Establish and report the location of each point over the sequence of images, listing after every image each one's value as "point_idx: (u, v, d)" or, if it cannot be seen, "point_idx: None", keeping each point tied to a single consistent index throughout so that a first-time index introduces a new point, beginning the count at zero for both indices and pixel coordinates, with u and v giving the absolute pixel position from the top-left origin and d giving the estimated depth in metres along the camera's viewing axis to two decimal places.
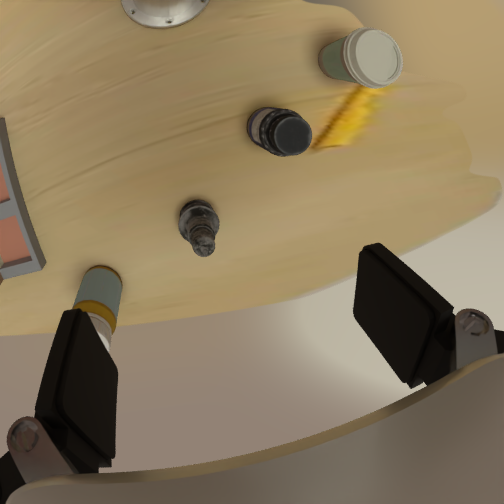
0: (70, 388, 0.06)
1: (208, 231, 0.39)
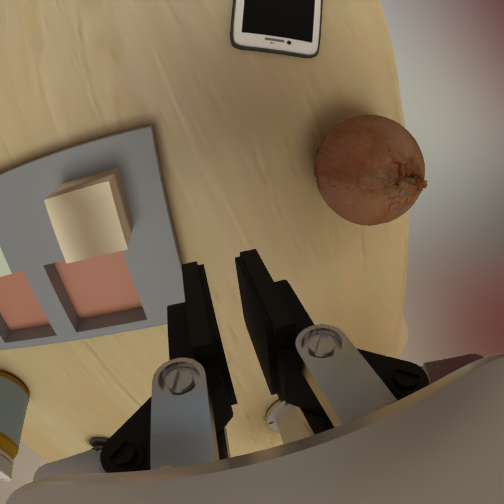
0: (217, 326, 0.08)
1: None
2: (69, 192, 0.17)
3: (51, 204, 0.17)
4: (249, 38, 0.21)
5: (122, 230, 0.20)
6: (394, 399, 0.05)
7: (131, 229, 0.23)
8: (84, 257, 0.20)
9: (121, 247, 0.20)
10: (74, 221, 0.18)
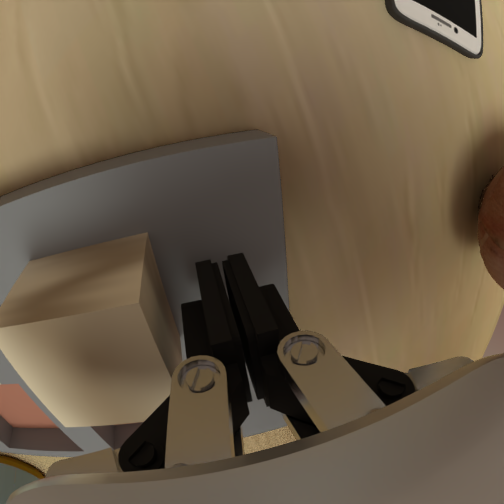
0: None
1: None
2: (39, 321, 0.06)
3: (5, 340, 0.06)
4: (413, 8, 0.10)
5: None
6: (376, 410, 0.05)
7: (180, 351, 0.12)
8: (98, 423, 0.09)
9: None
10: (65, 375, 0.07)
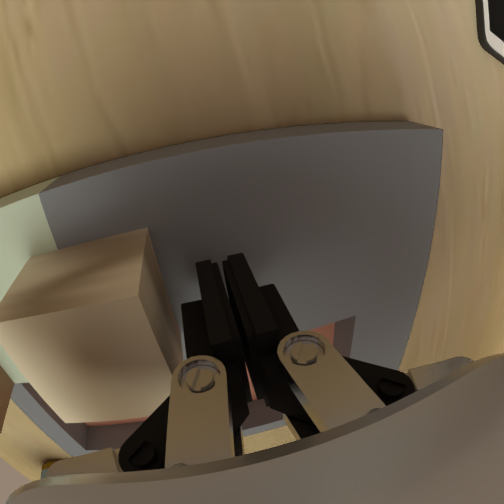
0: (235, 323, 0.08)
1: None
2: (39, 315, 0.06)
3: (6, 335, 0.06)
4: (495, 41, 0.11)
5: None
6: (376, 410, 0.05)
7: (181, 347, 0.12)
8: (98, 419, 0.09)
9: None
10: (65, 369, 0.07)
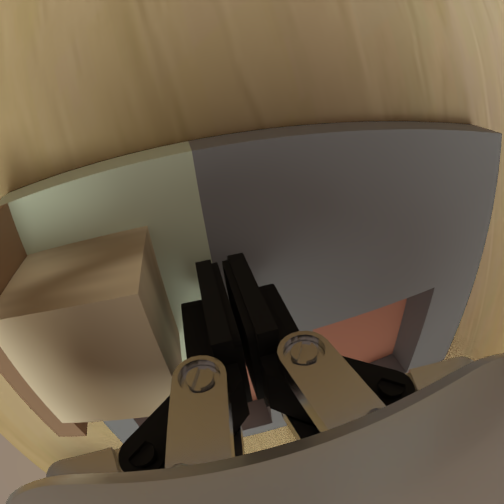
0: None
1: None
2: (37, 313, 0.06)
3: (3, 333, 0.06)
4: None
5: None
6: (376, 410, 0.05)
7: (179, 347, 0.12)
8: (96, 419, 0.09)
9: None
10: (62, 368, 0.07)
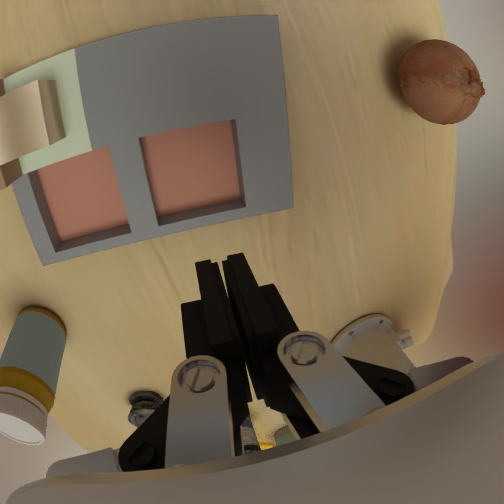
0: (235, 323, 0.08)
1: None
2: (5, 95, 0.14)
3: None
4: None
5: (46, 126, 0.16)
6: (376, 410, 0.05)
7: (61, 136, 0.19)
8: (12, 158, 0.16)
9: (44, 144, 0.17)
10: (6, 122, 0.15)
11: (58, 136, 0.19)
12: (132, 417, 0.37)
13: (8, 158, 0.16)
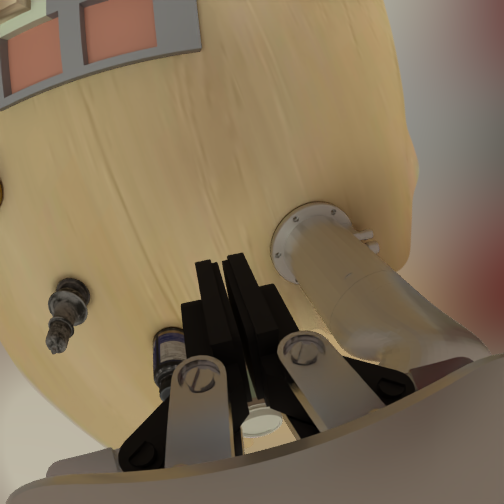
0: (235, 323, 0.08)
1: (69, 337, 0.32)
2: None
3: None
4: None
5: None
6: (376, 410, 0.05)
7: (27, 5, 0.17)
8: None
9: (13, 1, 0.15)
10: None
11: (24, 4, 0.16)
12: (51, 303, 0.34)
13: None
